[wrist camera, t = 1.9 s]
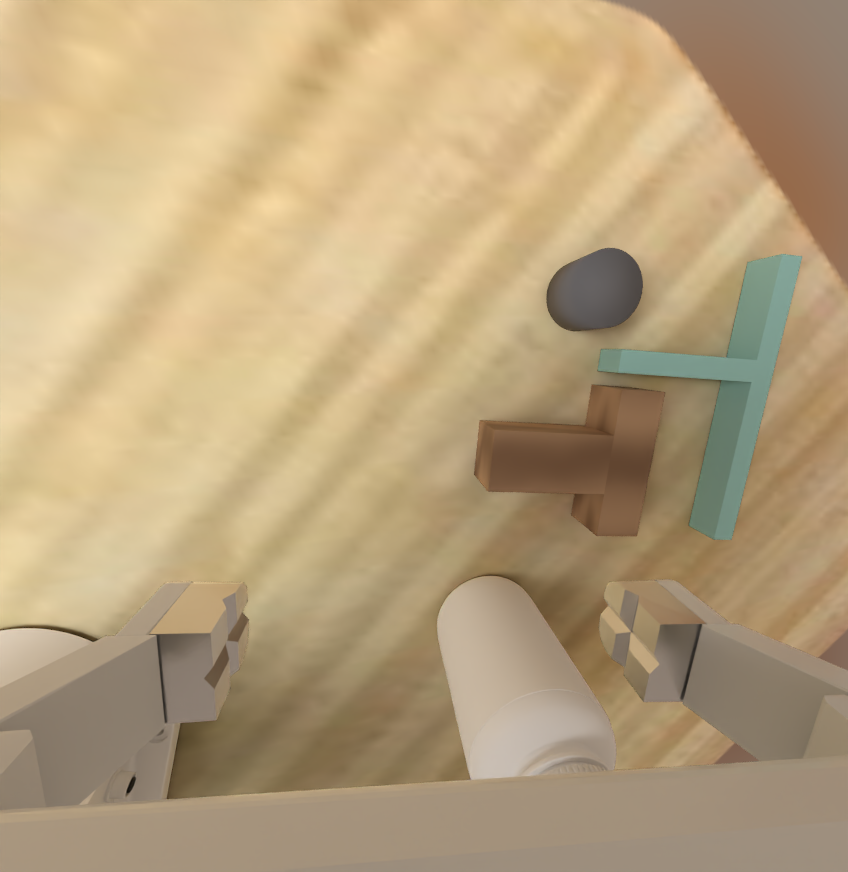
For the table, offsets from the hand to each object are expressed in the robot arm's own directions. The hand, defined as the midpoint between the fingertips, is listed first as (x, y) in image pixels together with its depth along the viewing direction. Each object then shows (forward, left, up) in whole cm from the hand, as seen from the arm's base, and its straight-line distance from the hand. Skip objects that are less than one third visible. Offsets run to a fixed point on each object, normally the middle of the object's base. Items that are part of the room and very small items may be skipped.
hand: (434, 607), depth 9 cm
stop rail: (+4, -20, -19) cm, 28 cm away
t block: (-1, -12, -19) cm, 22 cm away
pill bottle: (-14, -8, -19) cm, 25 cm away
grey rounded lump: (+10, -12, -19) cm, 25 cm away
